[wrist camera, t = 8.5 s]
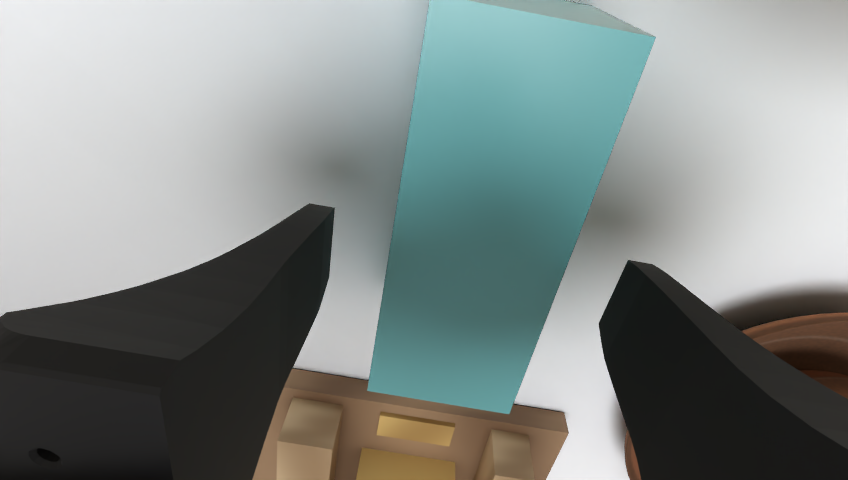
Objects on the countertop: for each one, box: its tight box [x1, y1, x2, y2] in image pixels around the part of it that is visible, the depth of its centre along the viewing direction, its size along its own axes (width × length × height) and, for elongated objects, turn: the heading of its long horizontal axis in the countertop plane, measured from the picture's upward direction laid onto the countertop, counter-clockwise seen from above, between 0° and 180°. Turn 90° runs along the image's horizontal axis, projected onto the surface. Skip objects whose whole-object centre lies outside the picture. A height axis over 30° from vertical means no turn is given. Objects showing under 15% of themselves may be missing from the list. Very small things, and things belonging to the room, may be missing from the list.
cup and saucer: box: [625, 313, 848, 480], centre depth 17 cm, size 12×12×6 cm
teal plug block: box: [367, 0, 656, 414], centre depth 14 cm, size 4×11×5 cm, turn 170°
